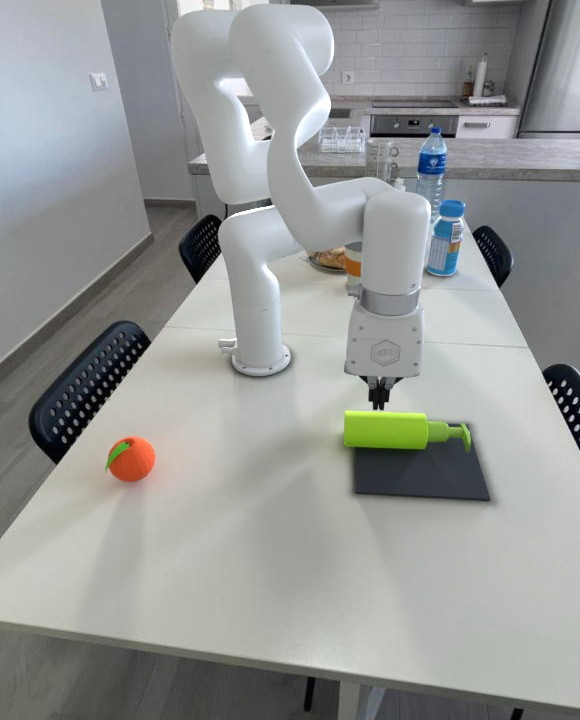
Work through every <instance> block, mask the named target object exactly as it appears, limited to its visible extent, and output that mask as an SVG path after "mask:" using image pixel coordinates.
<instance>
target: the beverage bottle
mask: <svg viewBox="0 0 580 720" xmlns="http://www.w3.org/2000/svg"><path fill="white" fill-rule="evenodd" d="M465 209H466V203H465V202H464V201H462V200H458V199H445V200H441V201H440V202H439V206H438V218H437V219H436V220H435V222H434V223H433V227H432V229H433V231H432V233H431V236H430V239H431V240H430V248H429V254H428V261H427V267H426V269H427V272H428V273H429V274H431V275H433V276H437V277H451V276H452V275H454V274H455V273H456V270H457V264H458V258H459V254H460V249H461V245H462V244H461V243H462V241H463V234H462V233H463V231H464V227H465V226H464V223H463V222H464V221H463V220H462V218H463V217H464V214H465Z"/></svg>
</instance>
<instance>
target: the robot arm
mask: <svg viewBox="0 0 580 720" xmlns="http://www.w3.org/2000/svg"><path fill="white" fill-rule="evenodd" d="M334 39H335V38H334V34H333V29H332V27H331V24H330V23H329V21H328V19H327V18H326V17H325V15H324V14H323V13H322V12H321V11H320V10H319V9H318V8H316V7H314V6H311V5H306V4H289V3H287V4H286V3H256V4H252V5H249V6H247V7H244V8H243V9H241V10H237V9H213V8H212V9H199V10H194V11H189V12H186V13H184V14H182V15H181V16H179V17H178V18H176V20H175V22H174V24H173V25H172V29H171V33H170V55H171V62H172V66H173V70H174V73H175V77H176V79H177V82H178V85H179V87H180V89H181V92H182V93H183V96H184V97H185V100H186V102H187V104H188V105H189V107H190V110H191V112H192V114H193V116H194V118H195V122H196V125H197V127H198V128H197V129H198V131H199V137H200V141H201V144H202V148H203V152H204V156H205V161H206V164H207V168H208V171H209V175H210V180H211V183H212V185H213V189H214V191H215V193H216V196H217V198H218V199H219V200H220V201H221V202H222V203H223V204H226V205H241V204H248V203H252V202H257V201H262V200H267V199H270V201H271V203H272V205H269V206H266V207H259V208H253V209H250V210H245V211H241V212H238V213H235V214H233V215H231V216H228V217H227V218H225V219H224V220H223V221H222V223H220V226H219V228H218V231H217V240H218V244H219V248H220V251H221V255H222V257H223V261H224V265H225V267H226V272H227V277H228V282H229V290H230V298H231V305H232V313H233V314H232V315H233V323H234V328H235V336H236V337H235V338H232V339H225V338H224V339H223V338H222V339H221V338H220V339H218V342H217V346H218V349H220V353H221V354H222V355H229V354H230V355H231V363H232V366H233V367H234V369H235V370H237V371H238V372H239V373H241V374H244V375H246V376H252V377H266V376H271V375H274V374H277V373H279V372H281V371H283V370H284V369H285V368H286V367H288V365H289V363H290V361H291V351H290V349H289V347H288V346H286V344H284V343H283V328H282V309H281V291H280V283H279V279H278V278H277V276H276V275H275V274H274V273H273V272H272V271H271V270H270V269H269V268H268V266H267V265H268V264H269V263H270V262H274V261H276V260H278V259H279V260H280V259H282V258H286V257H289V256H292V255H296V254H298V253H301V252H302V251H304V250H306V251H309V252H312V253H322V252H328V251H330V250H333V249H337V248H341V247H344V245H347V244H350V243H353V242H359V241H362V258H361V274H360V282H358V285H354V286H349V287H348V288H347V289H348V293H347V296H348V297H353V298H356V299H354V302H353V305H352V310H351V313H350V316H349V323H348V329H347V339H346V350H345V352H346V353H345V361H344V364H343V372H344V373H345V374H346V375H350V376H354V377H356V376H358V377H359V378H360V379H361V380H362V381H363V382H364V383H365V384H367V387H368V395H367V398H368V399H367V400H368V402H370V403H372V410H373V411H377V410H379V411H382V412H385V404H386V403H387V404H388V403H390V395H391V390H393V388H394V387H395V385H396V384H398V383H399V382H401V381H402V380H404V379H405V378H407V379H408V378H415V377H418V376H420V375H421V374H420V373H421V369H422V364H423V363H422V362H423V354H424V340H425V311H424V307H423V305H422V303H421V302H420V301H419V300H420V293H421V292H420V291H421V285H422V278H423V272H424V266H425V258H426V253H427V252H426V251H427V243H428V238H429V230H430V223H431V216H432V209H431V208H432V207H431V203H430V202H429V200H428V199H427V198H426V197H424V196H423V195H421V194H418V193H415V192H411V191H405V190H399V189H397V188H395V187H394V186H393V185H391V184H389V183H387V182H385V181H384V180H382V179H380V178H377V177H374V176H373V177H372V176H365V177H364V176H363V177H359V178H354V179H349V180H342V181H336V182H333V183H328V184H323V185H319V186H313V184H312V183H311V182H310V181H311V180H309V178H308V176H307V175H306V172H305V170H304V168H303V166H302V164H301V162H300V159H299V156H298V151H297V149H299V148H300V147H301V146H303V144H305V143H306V142H308V141H309V140H310V139H311V138H313V137H314V136H315V135H316V134H317V133H318V132H319V131H320V130H321V128H323V126H324V125H325V123H326V122H327V120H328V118H329V116H330V112H331V108H332V103H331V98H330V95H329V93H328V91H327V89H326V88H325V85H324V84H323V82H322V81H321V79H320V77H321V76H323V75H324V74H326V72H328V70H329V68H330V66H331V64H332V62H333V59H334V54H335V40H334ZM229 79H230V80H231V79H244V81H245V83H246V85H247V87H248V89H249V90H250V92H251V94H252V96H253V98H254V100H255V102H256V104H257V105H258V107H259V109H260V111H261V113H262V115H263V118H264V119H265V121H266V123H267V124H268V126H269V128H270V130H271V132H272V134H271V137H270V139H266V140H265V139H264V140H258V141H256V139H255V138H254V136H253V133H252V129H251V124H250V119H249V115H248V112H247V109H246V108H245V106H244V105H243V103H242V102H241V100H240V98H238V96H237V95H236V94H235V93H234V92H233V90H231V88H229V86H227V85H226V84H225V82H224V80H229ZM379 377H380V378H379Z"/></svg>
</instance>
